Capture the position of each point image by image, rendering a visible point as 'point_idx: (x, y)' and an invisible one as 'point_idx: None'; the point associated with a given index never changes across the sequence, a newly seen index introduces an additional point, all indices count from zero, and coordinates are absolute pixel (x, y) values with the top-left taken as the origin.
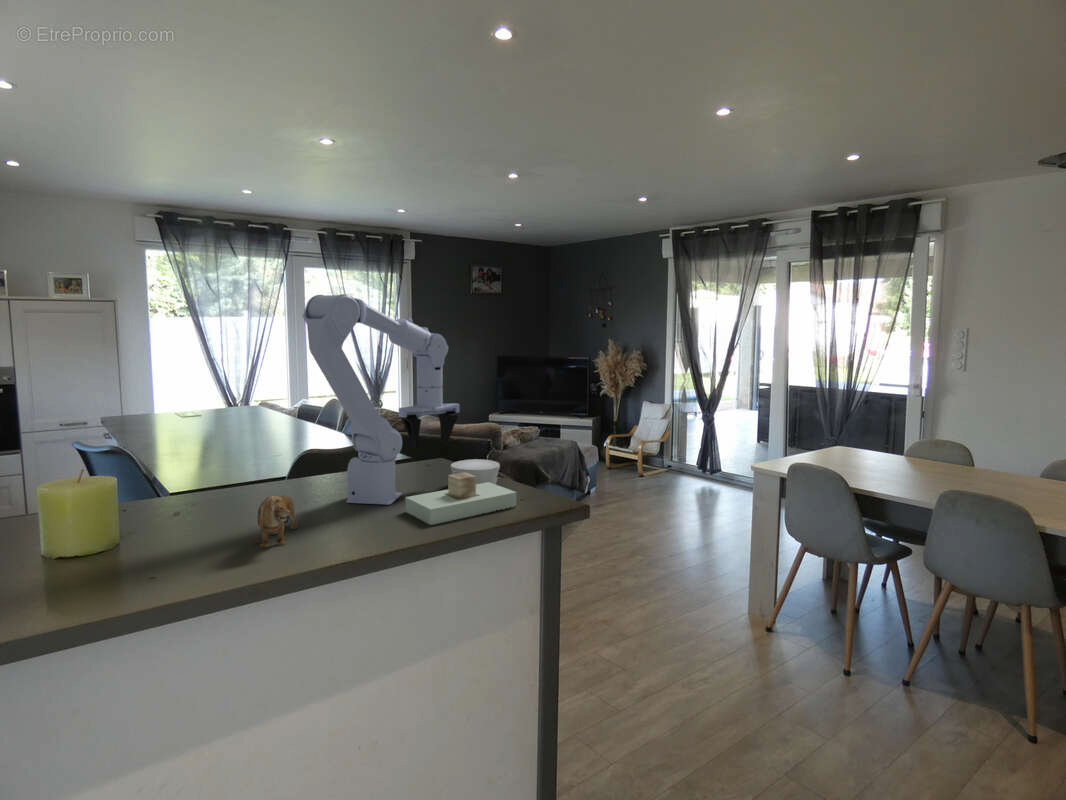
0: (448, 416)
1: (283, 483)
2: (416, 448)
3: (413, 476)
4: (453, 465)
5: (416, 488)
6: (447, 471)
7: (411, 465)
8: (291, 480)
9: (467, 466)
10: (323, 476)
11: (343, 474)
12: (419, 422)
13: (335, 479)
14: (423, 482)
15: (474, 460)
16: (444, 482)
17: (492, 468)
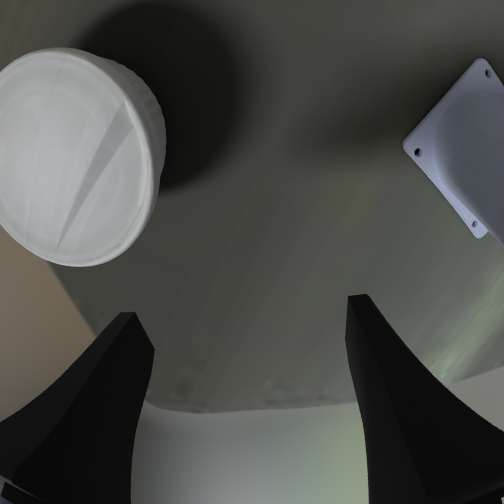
0: (42, 484)
1: (500, 360)
2: (364, 295)
3: (257, 330)
4: (135, 218)
5: (312, 201)
6: None
7: (222, 400)
8: (481, 373)
9: (81, 139)
10: None
11: None
12: (433, 469)
13: (431, 364)
14: (255, 261)
15: (41, 239)
16: (184, 230)
17: (2, 70)
